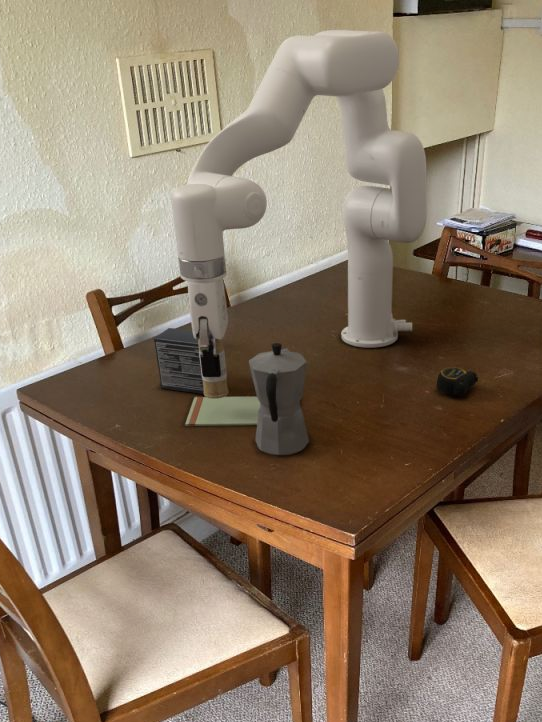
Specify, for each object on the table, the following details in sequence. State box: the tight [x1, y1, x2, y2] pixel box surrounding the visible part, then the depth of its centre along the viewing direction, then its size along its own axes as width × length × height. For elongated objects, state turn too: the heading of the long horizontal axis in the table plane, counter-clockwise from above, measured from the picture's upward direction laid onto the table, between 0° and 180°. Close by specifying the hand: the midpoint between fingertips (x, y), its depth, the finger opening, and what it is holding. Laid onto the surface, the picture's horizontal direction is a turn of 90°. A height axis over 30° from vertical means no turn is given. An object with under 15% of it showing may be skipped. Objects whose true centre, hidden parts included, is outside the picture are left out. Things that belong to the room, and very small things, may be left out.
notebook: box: [184, 395, 260, 427], centre depth 142 cm, size 20×11×1 cm, turn 90°
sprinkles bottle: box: [198, 331, 230, 399], centre depth 135 cm, size 5×5×13 cm
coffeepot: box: [248, 342, 310, 456], centre depth 126 cm, size 15×9×18 cm, turn 176°
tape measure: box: [436, 366, 479, 397], centre depth 147 cm, size 7×7×4 cm
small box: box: [153, 327, 204, 395], centre depth 149 cm, size 11×6×10 cm, turn 71°
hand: (213, 369), depth 136 cm, fingers closed on sprinkles bottle, 4 cm apart
